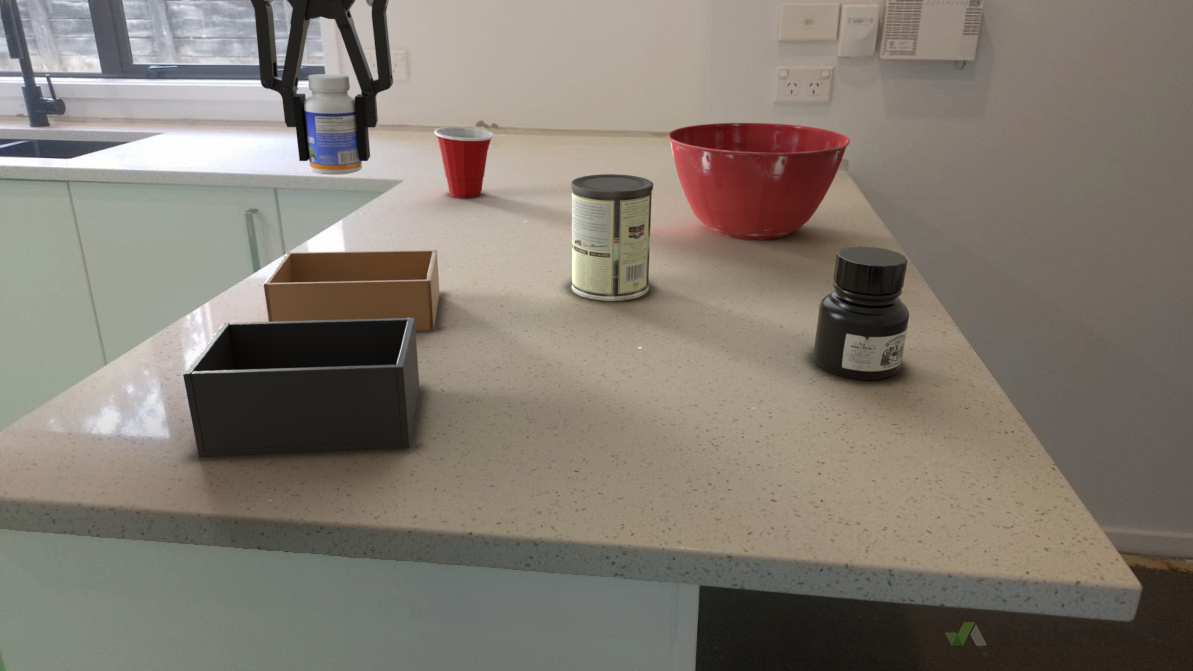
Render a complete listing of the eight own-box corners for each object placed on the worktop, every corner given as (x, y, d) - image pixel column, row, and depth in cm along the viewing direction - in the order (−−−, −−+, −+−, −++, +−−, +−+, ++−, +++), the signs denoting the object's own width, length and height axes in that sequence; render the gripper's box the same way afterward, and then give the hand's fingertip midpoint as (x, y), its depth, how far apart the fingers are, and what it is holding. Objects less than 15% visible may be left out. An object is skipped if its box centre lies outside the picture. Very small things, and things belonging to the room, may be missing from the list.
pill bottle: (313, 166, 92) (303, 73, 88) (364, 165, 93) (356, 73, 89) (307, 176, 87) (296, 78, 83) (361, 175, 88) (353, 78, 84)
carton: (270, 335, 94) (263, 284, 92) (293, 298, 105) (287, 252, 103) (433, 330, 96) (430, 280, 94) (439, 295, 107) (436, 249, 105)
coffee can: (590, 271, 117) (592, 170, 111) (660, 283, 113) (665, 178, 107) (556, 294, 108) (556, 185, 103) (630, 307, 104) (634, 194, 99)
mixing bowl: (692, 258, 124) (699, 152, 118) (644, 210, 149) (648, 122, 143) (869, 250, 129) (883, 148, 123) (793, 205, 155) (802, 120, 149)
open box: (198, 457, 70) (182, 374, 67) (236, 396, 80) (223, 322, 77) (409, 448, 71) (403, 367, 69) (419, 390, 82) (414, 317, 79)
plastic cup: (482, 203, 152) (480, 136, 148) (427, 198, 155) (423, 133, 150) (503, 190, 162) (502, 127, 157) (452, 186, 165) (449, 124, 160)
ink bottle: (856, 390, 83) (873, 275, 79) (792, 358, 90) (805, 251, 85) (920, 369, 88) (940, 260, 83) (855, 341, 95) (870, 238, 90)
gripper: (413, -79, 85) (425, 152, 94) (222, -86, 82) (253, 152, 91) (408, -85, 78) (421, 165, 87) (199, -93, 76) (235, 165, 84)
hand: (335, 158), depth 89 cm, fingers closed on pill bottle, 5 cm apart
